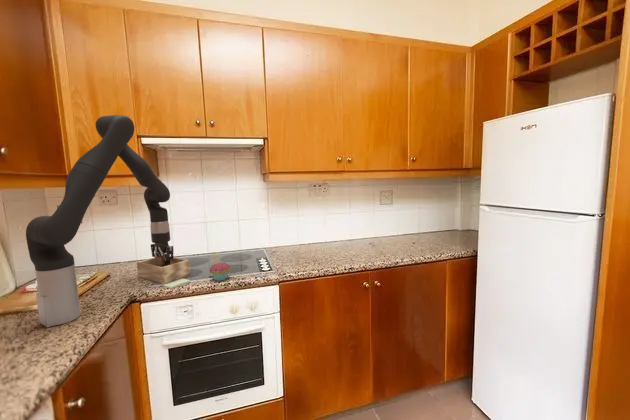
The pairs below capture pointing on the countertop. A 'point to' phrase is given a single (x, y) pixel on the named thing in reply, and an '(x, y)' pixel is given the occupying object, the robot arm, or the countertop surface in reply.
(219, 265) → the cupcake
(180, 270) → the crate
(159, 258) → the walnut block
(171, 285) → the mat
